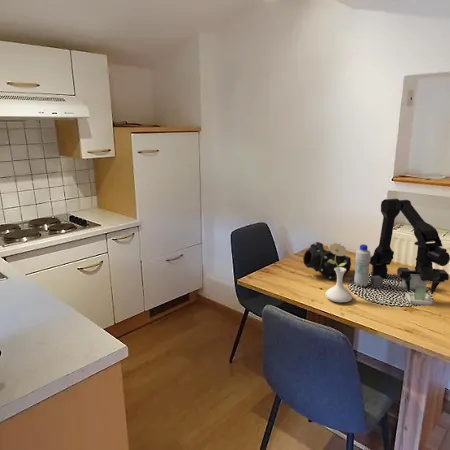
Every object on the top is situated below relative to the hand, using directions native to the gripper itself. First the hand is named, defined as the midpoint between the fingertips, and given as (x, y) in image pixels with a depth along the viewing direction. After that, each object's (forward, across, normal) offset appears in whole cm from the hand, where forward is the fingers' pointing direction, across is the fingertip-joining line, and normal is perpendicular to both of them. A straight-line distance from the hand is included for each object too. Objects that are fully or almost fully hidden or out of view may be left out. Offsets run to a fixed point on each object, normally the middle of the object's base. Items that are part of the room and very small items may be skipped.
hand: (420, 292), depth 165 cm
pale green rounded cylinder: (+3, 0, 0) cm, 3 cm away
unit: (+4, +1, +14) cm, 14 cm away
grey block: (+4, -15, +14) cm, 21 cm away
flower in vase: (+4, -34, -3) cm, 34 cm away
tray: (+4, 0, 0) cm, 4 cm away
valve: (+4, -40, +30) cm, 50 cm away
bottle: (+4, -22, +13) cm, 26 cm away
